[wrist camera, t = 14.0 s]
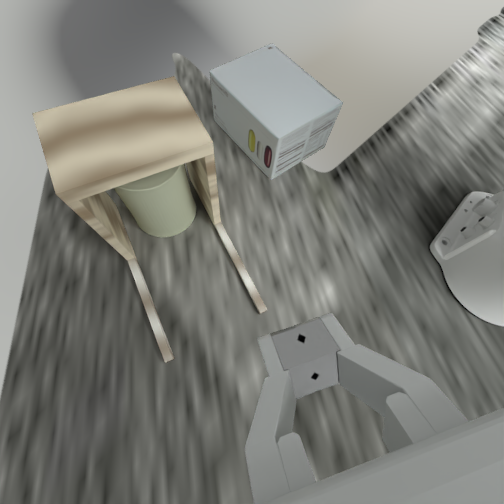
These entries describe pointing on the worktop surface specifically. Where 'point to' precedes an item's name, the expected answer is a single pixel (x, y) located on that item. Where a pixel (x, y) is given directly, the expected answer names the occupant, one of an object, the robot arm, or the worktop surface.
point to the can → (160, 202)
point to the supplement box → (272, 109)
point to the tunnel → (131, 165)
